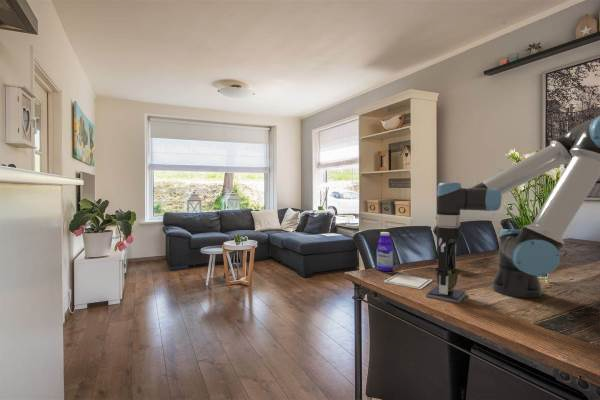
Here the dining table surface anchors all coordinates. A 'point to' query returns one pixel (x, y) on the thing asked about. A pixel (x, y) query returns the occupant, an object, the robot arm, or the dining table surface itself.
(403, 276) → the print sheet
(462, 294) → the ink pad
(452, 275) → the cup
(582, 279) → the dining table surface
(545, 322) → the dining table surface
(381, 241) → the bottle
